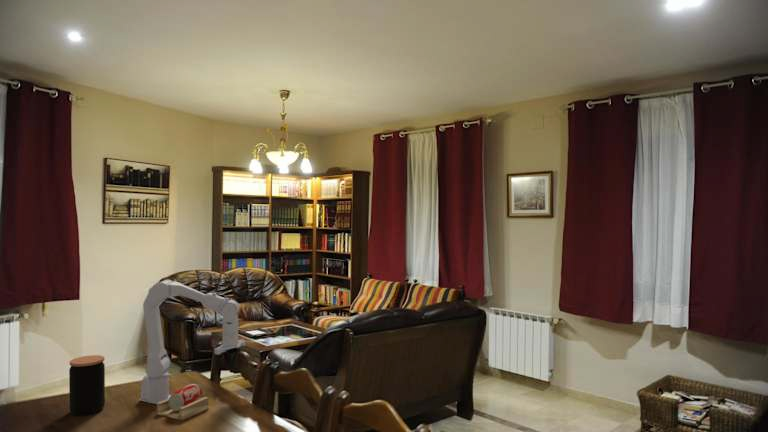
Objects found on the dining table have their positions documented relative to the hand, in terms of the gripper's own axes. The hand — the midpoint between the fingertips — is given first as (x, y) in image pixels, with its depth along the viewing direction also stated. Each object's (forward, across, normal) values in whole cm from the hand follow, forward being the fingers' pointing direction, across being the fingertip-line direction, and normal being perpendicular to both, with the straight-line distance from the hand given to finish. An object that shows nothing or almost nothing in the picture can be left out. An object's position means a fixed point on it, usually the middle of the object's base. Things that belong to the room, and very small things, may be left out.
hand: (230, 368), depth 191 cm
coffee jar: (+11, -32, +36) cm, 49 cm away
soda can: (+7, -11, +7) cm, 14 cm away
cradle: (+10, -18, +5) cm, 22 cm away
